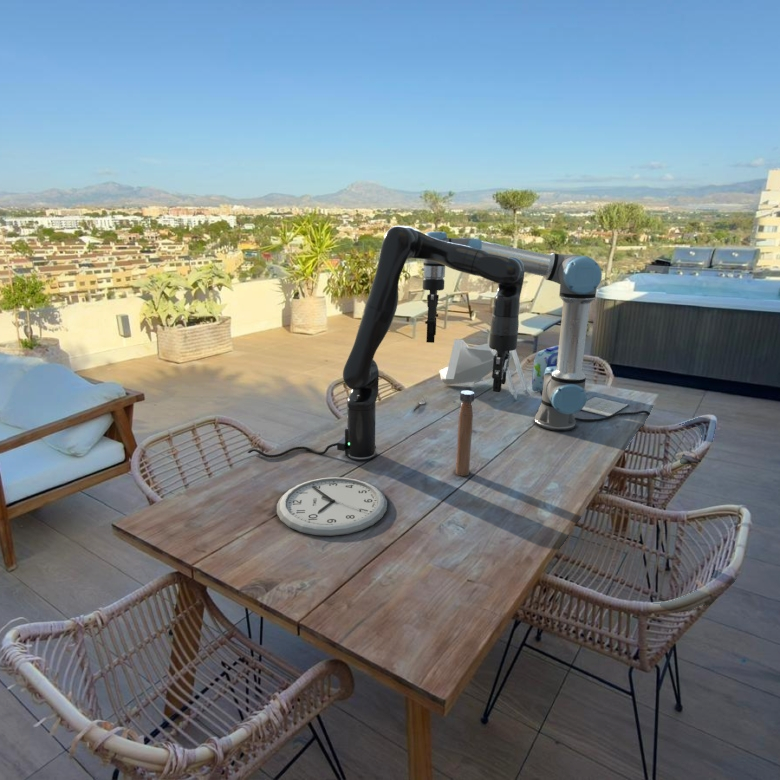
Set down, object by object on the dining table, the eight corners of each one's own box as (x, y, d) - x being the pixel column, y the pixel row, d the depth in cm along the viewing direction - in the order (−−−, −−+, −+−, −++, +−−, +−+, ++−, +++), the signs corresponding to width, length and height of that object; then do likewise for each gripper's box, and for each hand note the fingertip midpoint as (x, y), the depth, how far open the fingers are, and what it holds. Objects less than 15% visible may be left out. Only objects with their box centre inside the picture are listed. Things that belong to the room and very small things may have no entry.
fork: (410, 411, 216) (410, 407, 215) (421, 400, 230) (421, 396, 229) (416, 412, 215) (416, 408, 214) (427, 401, 229) (427, 396, 228)
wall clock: (392, 527, 129) (268, 531, 127) (391, 533, 130) (269, 537, 127) (383, 473, 158) (282, 475, 155) (383, 478, 158) (282, 480, 156)
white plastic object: (461, 429, 252) (437, 405, 227) (444, 352, 274) (420, 323, 250) (535, 404, 240) (518, 377, 215) (510, 326, 262) (492, 293, 237)
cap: (476, 401, 155) (477, 393, 155) (466, 403, 153) (466, 395, 152) (467, 397, 159) (468, 389, 158) (457, 399, 157) (457, 391, 156)
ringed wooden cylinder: (471, 474, 162) (477, 394, 155) (461, 477, 160) (466, 396, 153) (463, 469, 166) (468, 390, 158) (453, 471, 164) (457, 392, 156)
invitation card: (608, 416, 214) (573, 407, 224) (608, 416, 214) (573, 408, 224) (628, 404, 229) (594, 396, 238) (628, 405, 229) (594, 397, 238)
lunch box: (548, 398, 236) (553, 353, 229) (527, 393, 243) (531, 349, 237) (575, 387, 253) (581, 344, 247) (555, 382, 260) (560, 341, 254)
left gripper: (494, 326, 152) (490, 379, 157) (485, 335, 139) (481, 393, 144) (520, 328, 150) (515, 382, 154) (514, 337, 137) (508, 396, 142)
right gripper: (424, 274, 193) (422, 331, 200) (420, 281, 170) (418, 345, 176) (445, 275, 193) (442, 332, 199) (443, 282, 169) (440, 346, 175)
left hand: (499, 387), depth 149 cm, fingers open, 8 cm apart
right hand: (431, 338), depth 187 cm, fingers open, 13 cm apart
